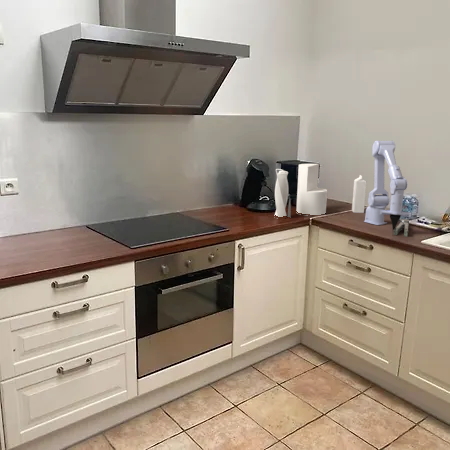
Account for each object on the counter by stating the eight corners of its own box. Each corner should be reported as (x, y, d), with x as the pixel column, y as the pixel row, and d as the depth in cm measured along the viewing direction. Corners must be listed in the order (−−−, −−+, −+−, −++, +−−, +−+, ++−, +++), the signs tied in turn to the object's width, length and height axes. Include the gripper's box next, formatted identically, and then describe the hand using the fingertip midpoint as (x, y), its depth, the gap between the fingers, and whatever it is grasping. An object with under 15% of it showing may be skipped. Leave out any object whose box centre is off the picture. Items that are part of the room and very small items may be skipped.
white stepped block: (291, 213, 270) (293, 165, 263) (302, 208, 284) (305, 163, 277) (319, 217, 261) (322, 168, 254) (329, 211, 275) (333, 165, 268)
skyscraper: (278, 220, 254) (280, 169, 247) (270, 217, 261) (272, 168, 254) (291, 219, 257) (293, 169, 250) (283, 216, 264) (285, 167, 257)
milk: (361, 210, 279) (364, 174, 273) (364, 213, 273) (367, 176, 268) (351, 210, 279) (354, 174, 274) (353, 212, 273) (356, 175, 268)
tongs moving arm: (401, 225, 243) (401, 221, 242) (406, 226, 241) (407, 221, 241) (393, 234, 225) (393, 229, 225) (399, 235, 224) (399, 230, 223)
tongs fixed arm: (399, 224, 246) (400, 219, 245) (408, 225, 244) (409, 219, 244) (398, 235, 224) (399, 229, 223) (408, 236, 222) (409, 230, 222)
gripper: (380, 203, 225) (378, 229, 229) (412, 205, 220) (409, 232, 224) (381, 200, 232) (379, 226, 235) (412, 202, 227) (409, 229, 230)
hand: (393, 229), depth 230 cm, fingers closed
